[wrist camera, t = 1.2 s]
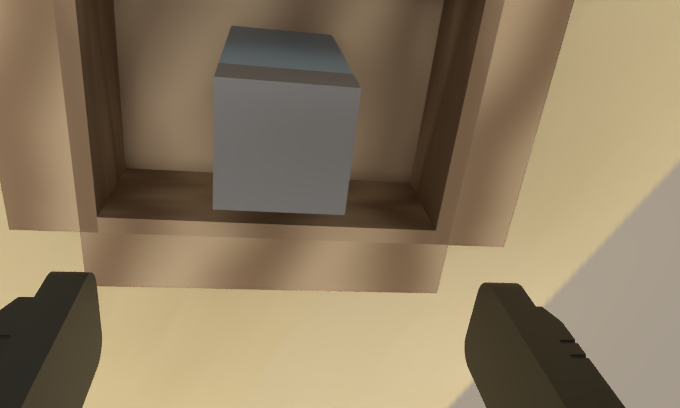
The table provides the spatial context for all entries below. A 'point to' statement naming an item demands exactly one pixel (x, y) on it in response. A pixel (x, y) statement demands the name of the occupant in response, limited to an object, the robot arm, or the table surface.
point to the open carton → (197, 137)
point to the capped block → (283, 123)
